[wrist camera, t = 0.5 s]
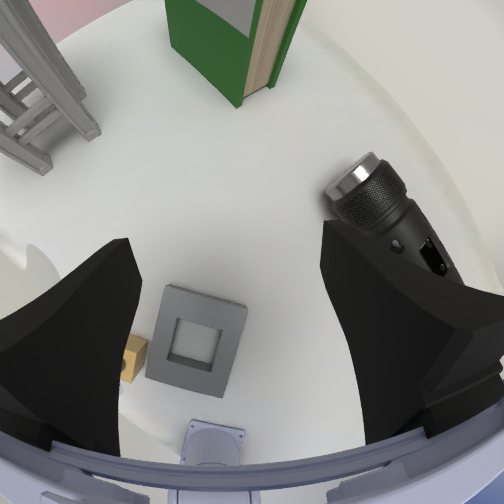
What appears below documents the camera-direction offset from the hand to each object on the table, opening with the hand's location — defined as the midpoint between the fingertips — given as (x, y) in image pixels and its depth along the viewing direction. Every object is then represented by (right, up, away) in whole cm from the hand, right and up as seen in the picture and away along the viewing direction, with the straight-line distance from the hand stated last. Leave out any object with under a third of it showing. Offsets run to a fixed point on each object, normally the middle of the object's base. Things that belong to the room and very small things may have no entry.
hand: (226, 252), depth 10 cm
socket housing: (-6, -11, +24) cm, 28 cm away
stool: (-29, +19, +23) cm, 42 cm away
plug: (-15, -13, +23) cm, 31 cm away
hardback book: (-4, +30, +27) cm, 40 cm away
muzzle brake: (+21, -1, +29) cm, 36 cm away
